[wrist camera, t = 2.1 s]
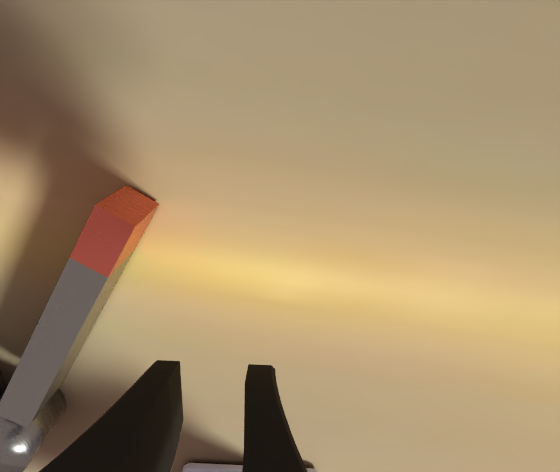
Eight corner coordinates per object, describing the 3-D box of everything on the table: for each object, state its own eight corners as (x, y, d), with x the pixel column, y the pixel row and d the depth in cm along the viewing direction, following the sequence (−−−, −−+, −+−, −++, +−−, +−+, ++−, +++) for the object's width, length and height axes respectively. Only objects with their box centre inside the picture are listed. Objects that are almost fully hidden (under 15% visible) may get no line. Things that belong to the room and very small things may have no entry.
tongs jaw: (62, 382, 21) (28, 428, 18) (33, 369, 21) (-6, 413, 18) (159, 204, 17) (134, 227, 14) (126, 184, 17) (94, 204, 14)
